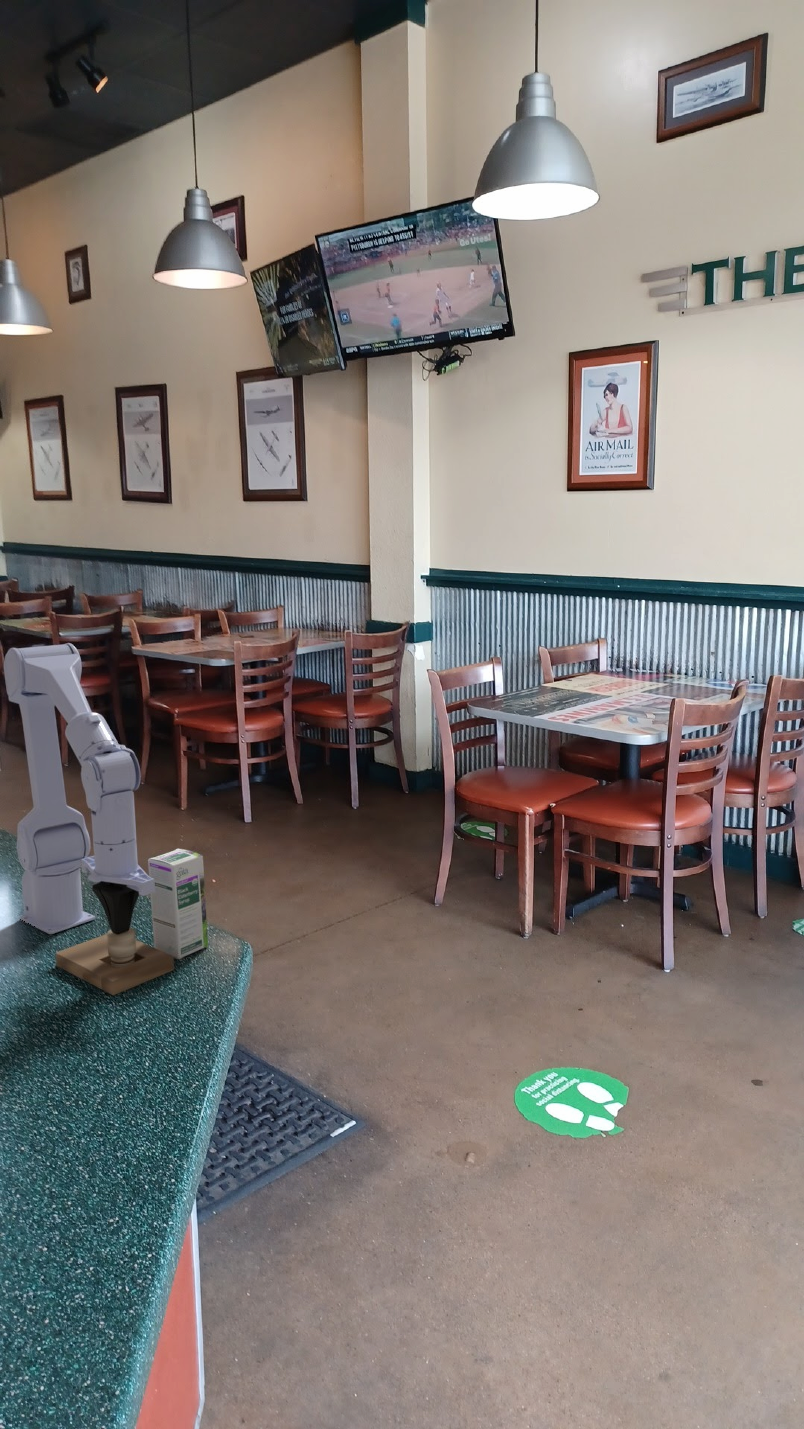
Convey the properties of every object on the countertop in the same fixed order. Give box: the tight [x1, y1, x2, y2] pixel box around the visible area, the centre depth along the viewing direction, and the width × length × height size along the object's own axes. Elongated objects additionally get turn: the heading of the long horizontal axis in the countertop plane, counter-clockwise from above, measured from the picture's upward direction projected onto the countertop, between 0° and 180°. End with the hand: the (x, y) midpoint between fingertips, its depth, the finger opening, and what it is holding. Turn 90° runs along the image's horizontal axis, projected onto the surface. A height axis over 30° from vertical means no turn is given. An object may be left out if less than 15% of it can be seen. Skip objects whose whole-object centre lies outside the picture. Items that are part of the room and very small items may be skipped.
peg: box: [106, 926, 137, 969], centre depth 141 cm, size 4×4×6 cm
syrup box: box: [147, 848, 209, 960], centre depth 147 cm, size 6×6×14 cm
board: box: [55, 933, 175, 996], centre depth 143 cm, size 14×10×2 cm
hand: (120, 931), depth 140 cm, fingers closed
